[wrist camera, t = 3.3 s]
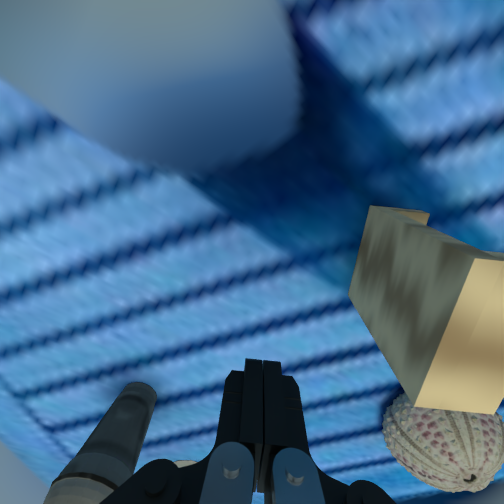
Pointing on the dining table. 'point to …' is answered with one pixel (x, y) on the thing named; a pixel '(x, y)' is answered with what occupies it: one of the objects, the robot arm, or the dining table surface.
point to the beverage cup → (107, 450)
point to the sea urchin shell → (445, 444)
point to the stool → (432, 310)
